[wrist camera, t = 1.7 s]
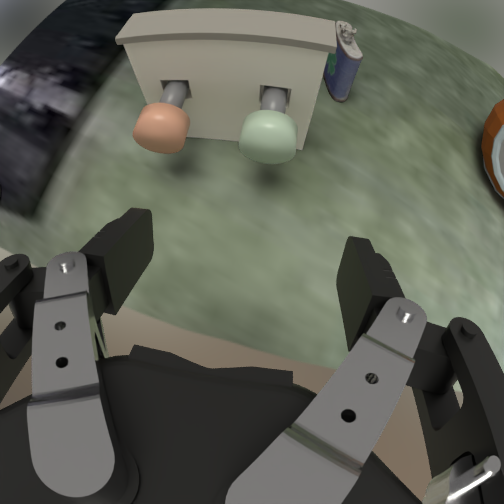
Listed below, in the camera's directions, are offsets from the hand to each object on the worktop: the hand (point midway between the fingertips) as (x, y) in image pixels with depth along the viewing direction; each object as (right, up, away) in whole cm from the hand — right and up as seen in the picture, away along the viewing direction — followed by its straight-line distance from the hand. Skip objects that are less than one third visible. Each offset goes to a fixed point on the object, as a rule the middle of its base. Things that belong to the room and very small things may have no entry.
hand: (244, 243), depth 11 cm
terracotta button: (-8, +13, +18) cm, 24 cm away
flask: (+12, +25, +28) cm, 39 cm away
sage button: (+2, +12, +18) cm, 22 cm away
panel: (-2, +15, +25) cm, 30 cm away
